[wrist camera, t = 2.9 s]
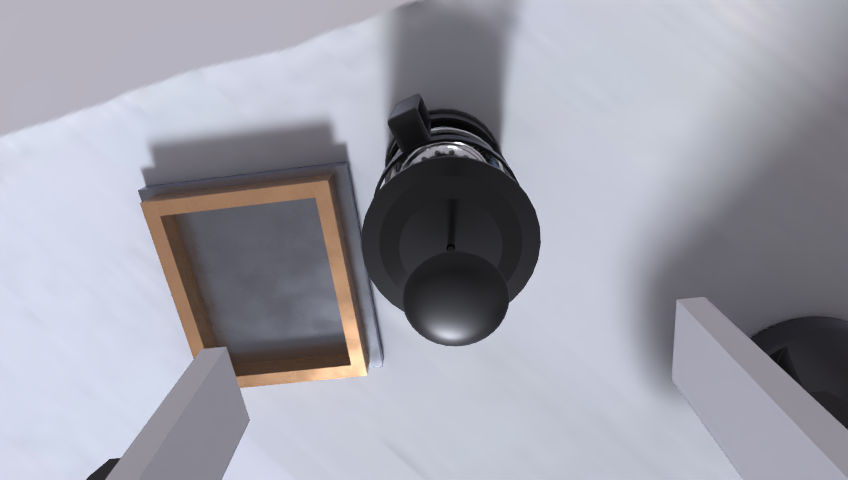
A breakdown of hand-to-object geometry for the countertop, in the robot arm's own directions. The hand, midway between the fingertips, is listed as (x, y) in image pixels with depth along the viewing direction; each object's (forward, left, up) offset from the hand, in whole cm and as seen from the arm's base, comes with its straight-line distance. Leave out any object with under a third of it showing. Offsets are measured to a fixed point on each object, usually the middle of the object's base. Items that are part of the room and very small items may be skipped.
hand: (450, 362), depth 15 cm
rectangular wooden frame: (+16, +9, -28) cm, 33 cm away
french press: (0, 0, -28) cm, 28 cm away
